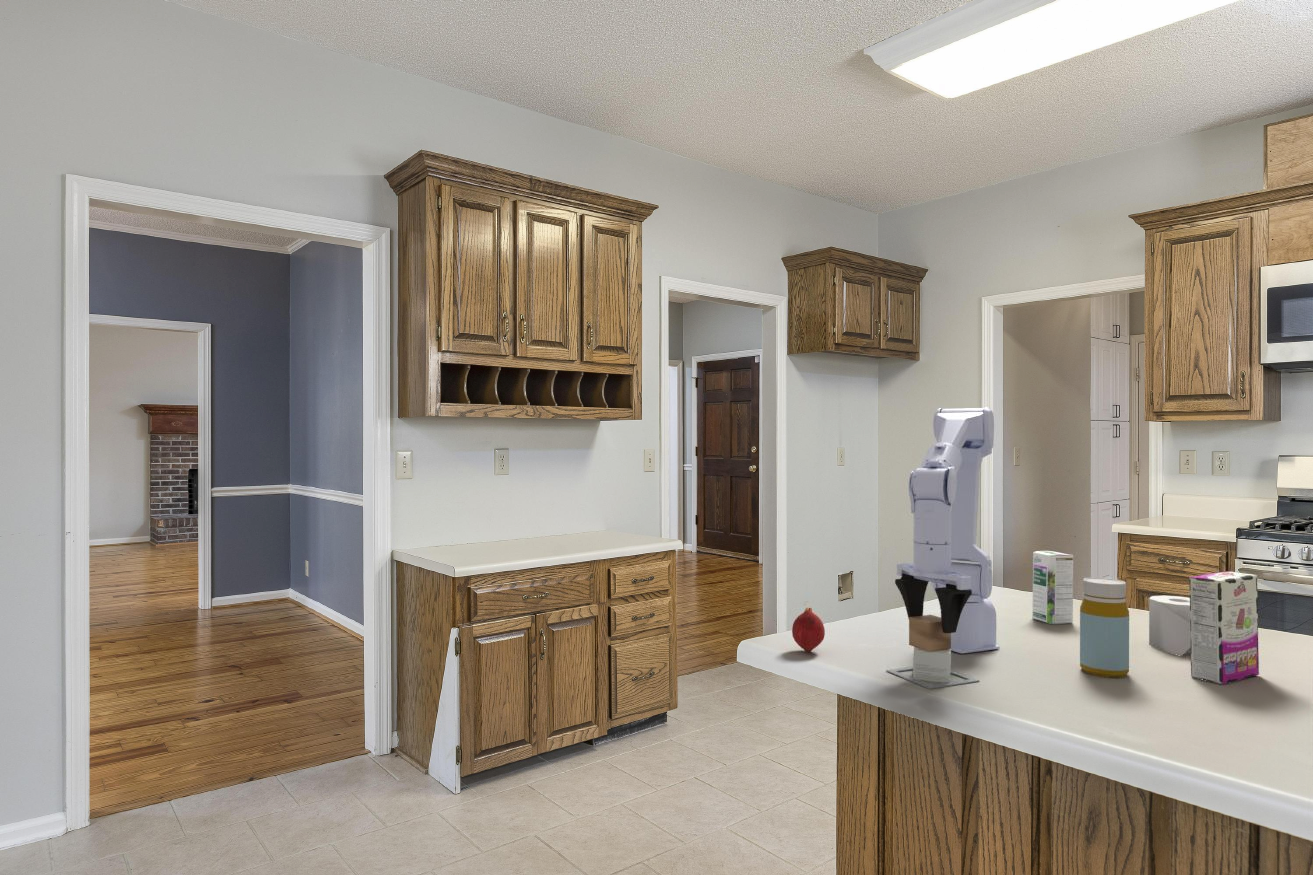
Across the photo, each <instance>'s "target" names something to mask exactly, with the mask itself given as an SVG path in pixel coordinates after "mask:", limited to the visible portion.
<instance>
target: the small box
mask: <svg viewBox="0 0 1313 875" xmlns="http://www.w3.org/2000/svg"><path fill="white" fill-rule="evenodd" d="M912 659H913V664H912V667H913V670H912V678H914V679H916V680H918V681H921V682H925V681H926V682H933V683H939V684H942V683H948V682H951V673H950V672H951V670H952V669H951V667H952V650H951V649H945V650H938V651H931V652H928V651H925V650H922V649H919V648H917V647H914V646H913V658H912Z"/></svg>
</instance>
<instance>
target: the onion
mask: <svg viewBox="0 0 1313 875" xmlns="http://www.w3.org/2000/svg"><path fill="white" fill-rule="evenodd" d="M825 632H826V630H825V626H824V623H823V621H822V620H821V618H820V617H819V616H818V615H817V614H816V613H814V612H813V608H811V606H807V607H805V610H804V611H803V612H802V613H801V614H799V615H798V616H797V617H796V618H795V619H794V621H793V623H792V628H791V634H792V638H793V640H794V642H795V643H796V644H797V646H799V648H801V649H802V650H804V651H805V652H807V653H809V652H812V651H813V650H814V649H816V648H817V647H818V646H820V644H822V642H823V641H824V639H825V634H826V633H825Z"/></svg>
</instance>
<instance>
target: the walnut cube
mask: <svg viewBox="0 0 1313 875" xmlns="http://www.w3.org/2000/svg"><path fill="white" fill-rule="evenodd" d="M908 646H910V647H913V648H914V647H917V648H919V649H922V650H925V651H928V652H931V651H938V650H945V649H951V633H943V630H942V623H941V616H936V615H933V614H923V616H915V617H909V619H908Z"/></svg>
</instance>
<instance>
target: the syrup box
mask: <svg viewBox="0 0 1313 875" xmlns="http://www.w3.org/2000/svg"><path fill="white" fill-rule="evenodd" d="M1073 612H1074V554H1067V553H1062V552H1058V551H1051V550H1037V551H1033V553H1032V613H1031V617H1032V620H1037V621H1041V622H1043V623H1046V624H1049V625H1061V624H1073V622H1074V620H1073V619H1074V617H1073V616H1074V615H1073V614H1074V613H1073Z"/></svg>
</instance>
